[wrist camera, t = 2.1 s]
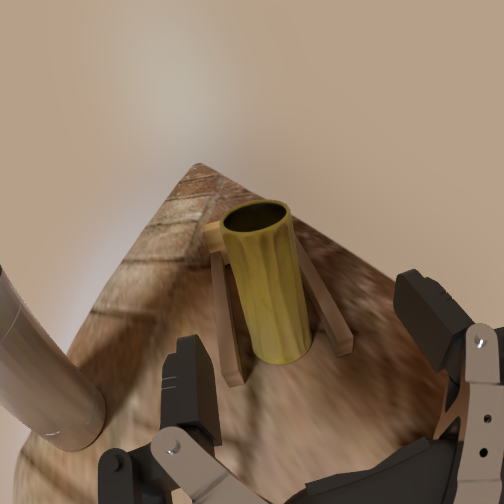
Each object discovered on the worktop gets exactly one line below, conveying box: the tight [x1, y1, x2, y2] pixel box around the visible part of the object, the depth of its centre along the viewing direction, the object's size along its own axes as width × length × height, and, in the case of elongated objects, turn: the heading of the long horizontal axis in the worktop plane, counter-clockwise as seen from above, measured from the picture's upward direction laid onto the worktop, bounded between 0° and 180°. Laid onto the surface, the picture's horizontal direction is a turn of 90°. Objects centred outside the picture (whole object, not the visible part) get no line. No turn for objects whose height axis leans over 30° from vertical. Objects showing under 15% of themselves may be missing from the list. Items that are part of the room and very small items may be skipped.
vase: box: [219, 200, 312, 365], centre depth 25 cm, size 6×6×14 cm
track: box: [203, 204, 353, 387], centre depth 33 cm, size 12×22×6 cm, turn 10°
